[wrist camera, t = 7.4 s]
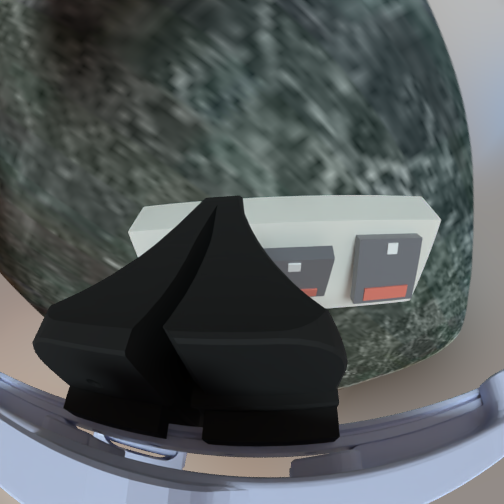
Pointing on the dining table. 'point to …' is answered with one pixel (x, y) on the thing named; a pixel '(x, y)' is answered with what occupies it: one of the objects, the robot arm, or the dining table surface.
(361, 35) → the dining table surface
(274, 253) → the rocker
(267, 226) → the power strip
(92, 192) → the dining table surface
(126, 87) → the dining table surface
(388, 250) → the rocker
